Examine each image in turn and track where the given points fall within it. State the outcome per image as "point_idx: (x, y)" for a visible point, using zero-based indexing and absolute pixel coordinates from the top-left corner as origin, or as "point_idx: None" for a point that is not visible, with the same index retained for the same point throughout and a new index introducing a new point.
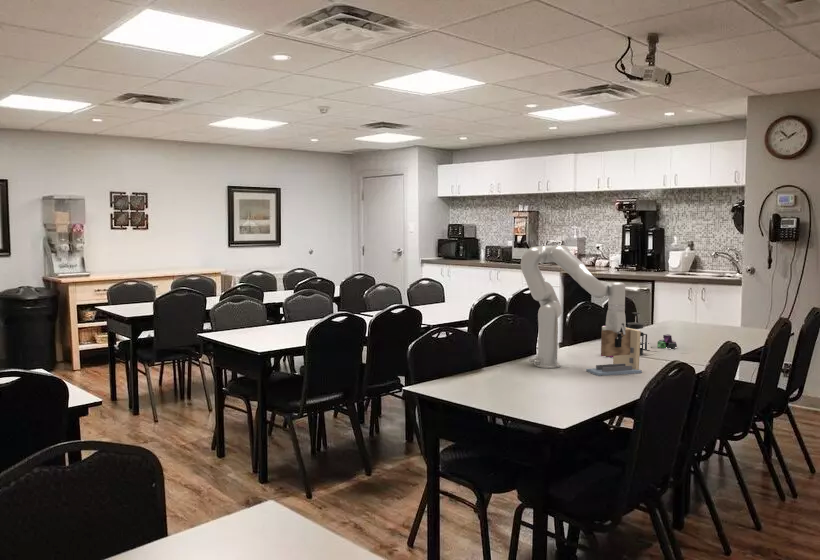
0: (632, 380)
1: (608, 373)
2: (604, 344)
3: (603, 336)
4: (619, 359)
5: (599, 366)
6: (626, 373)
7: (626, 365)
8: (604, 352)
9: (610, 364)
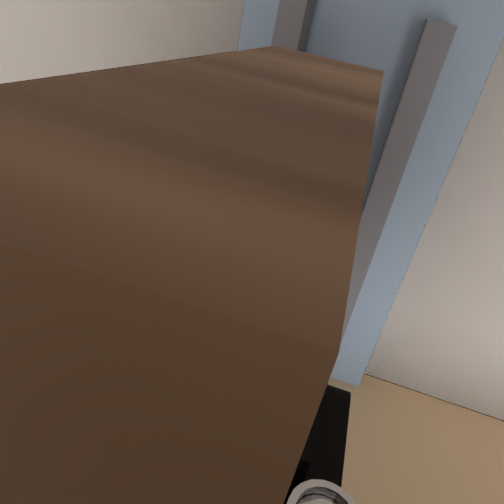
0: (22, 67)
1: (243, 22)
2: (229, 62)
3: (200, 110)
4: (452, 454)
5: (413, 58)
6: None
7: (343, 389)
8: (275, 52)
9: (372, 226)
